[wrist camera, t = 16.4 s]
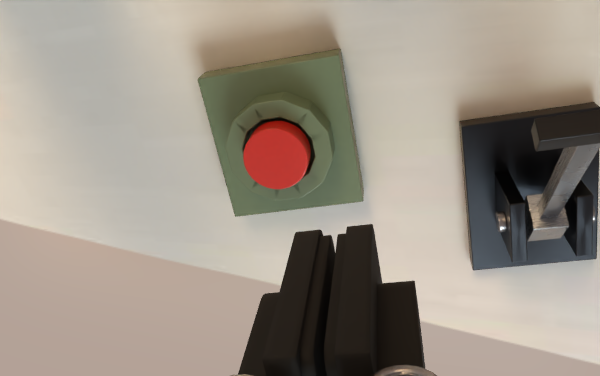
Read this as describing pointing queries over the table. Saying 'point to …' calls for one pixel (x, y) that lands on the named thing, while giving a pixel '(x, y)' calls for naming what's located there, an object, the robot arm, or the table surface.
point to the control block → (296, 110)
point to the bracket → (521, 192)
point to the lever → (561, 169)
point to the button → (277, 155)
